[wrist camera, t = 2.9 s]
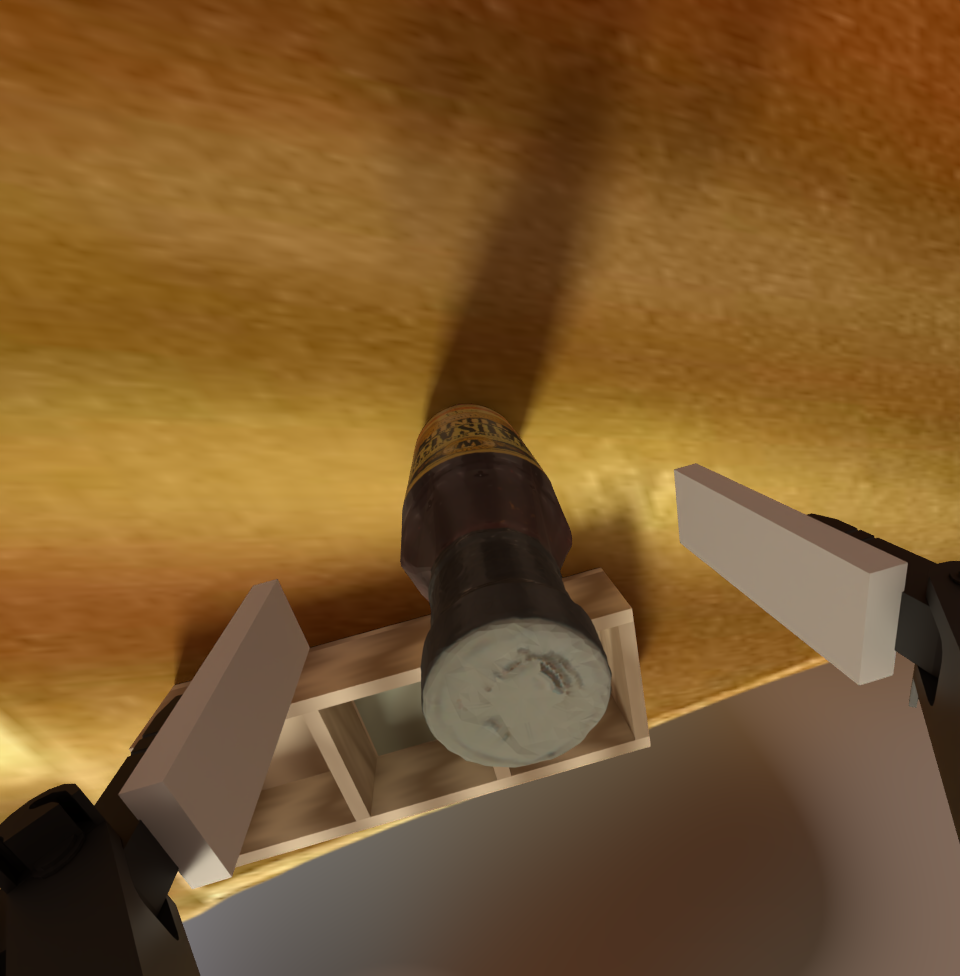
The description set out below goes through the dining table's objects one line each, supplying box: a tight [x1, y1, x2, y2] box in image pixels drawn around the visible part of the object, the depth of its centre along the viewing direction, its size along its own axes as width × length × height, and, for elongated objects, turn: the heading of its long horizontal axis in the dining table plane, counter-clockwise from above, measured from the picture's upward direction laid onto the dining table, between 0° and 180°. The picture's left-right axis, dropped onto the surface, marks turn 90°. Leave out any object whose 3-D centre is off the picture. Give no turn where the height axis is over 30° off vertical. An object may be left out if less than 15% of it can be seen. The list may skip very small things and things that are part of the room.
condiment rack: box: [129, 568, 651, 867], centre depth 31 cm, size 31×12×5 cm, turn 103°
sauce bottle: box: [400, 404, 612, 768], centre depth 18 cm, size 7×6×20 cm
